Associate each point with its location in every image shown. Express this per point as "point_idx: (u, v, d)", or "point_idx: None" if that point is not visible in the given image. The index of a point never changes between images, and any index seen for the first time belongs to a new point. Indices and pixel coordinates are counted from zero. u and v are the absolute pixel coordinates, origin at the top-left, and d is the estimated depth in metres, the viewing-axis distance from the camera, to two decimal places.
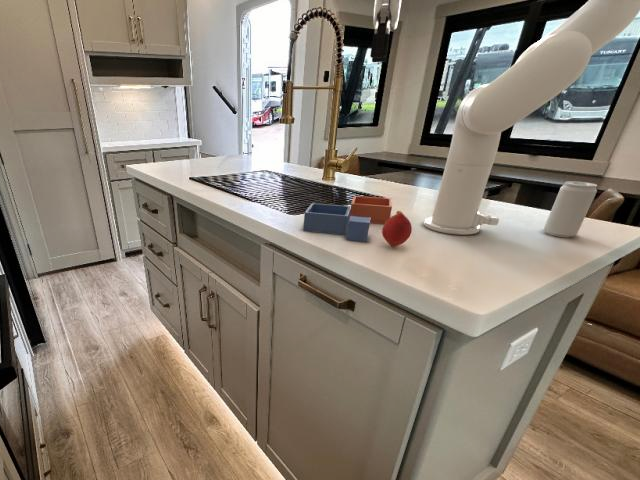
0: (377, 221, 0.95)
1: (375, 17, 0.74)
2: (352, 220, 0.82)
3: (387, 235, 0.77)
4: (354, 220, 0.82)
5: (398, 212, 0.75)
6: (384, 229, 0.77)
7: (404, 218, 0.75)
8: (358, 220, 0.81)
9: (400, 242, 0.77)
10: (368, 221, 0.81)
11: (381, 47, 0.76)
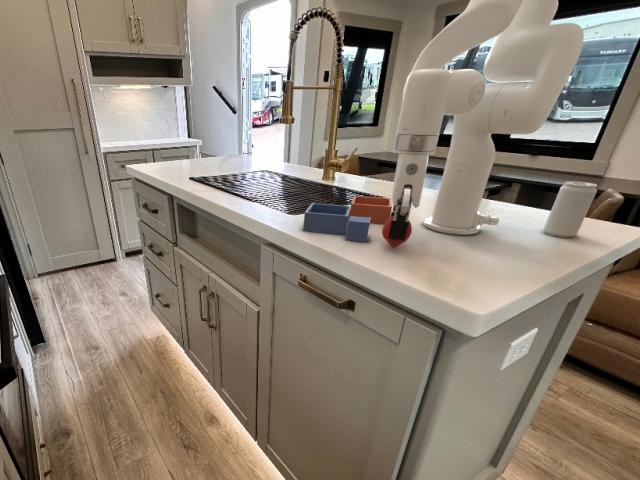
0: (377, 221, 0.95)
1: (395, 202, 0.71)
2: (352, 220, 0.82)
3: (387, 235, 0.77)
4: (354, 220, 0.82)
5: None
6: (384, 229, 0.77)
7: None
8: (358, 220, 0.81)
9: (400, 242, 0.77)
10: (368, 221, 0.81)
11: (400, 233, 0.73)
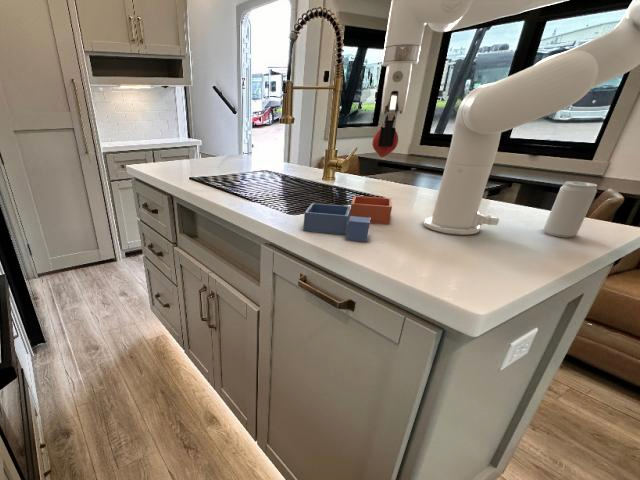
0: (377, 221, 0.95)
1: (384, 109, 0.81)
2: (352, 220, 0.82)
3: (376, 144, 0.87)
4: (354, 220, 0.82)
5: None
6: (374, 139, 0.88)
7: None
8: (358, 220, 0.81)
9: (388, 150, 0.87)
10: (368, 221, 0.81)
11: (388, 139, 0.84)
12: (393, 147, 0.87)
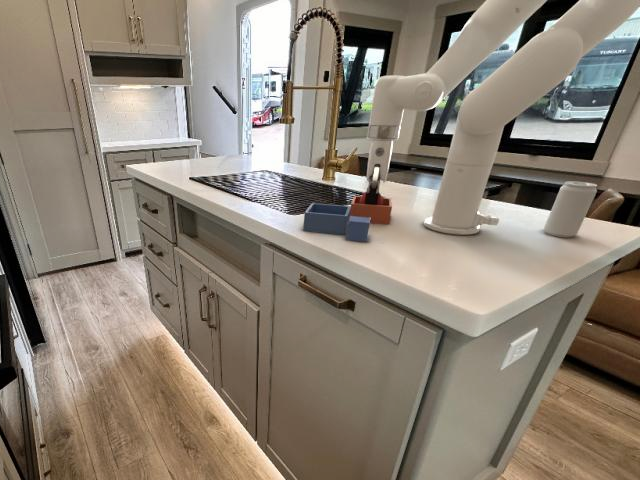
0: (377, 221, 0.95)
1: (368, 178, 0.91)
2: (352, 220, 0.82)
3: None
4: (354, 220, 0.82)
5: None
6: (361, 201, 0.98)
7: None
8: (358, 220, 0.81)
9: None
10: (368, 221, 0.81)
11: (372, 203, 0.94)
12: None
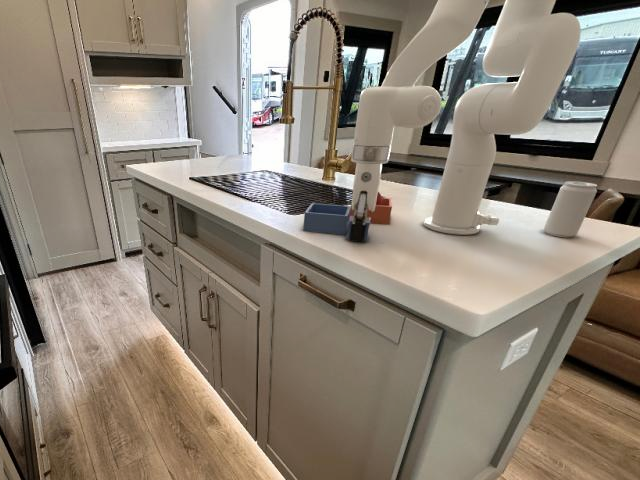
0: (377, 221, 0.95)
1: (353, 207, 0.77)
2: (352, 220, 0.82)
3: None
4: None
5: None
6: None
7: None
8: None
9: None
10: (368, 221, 0.81)
11: (359, 235, 0.81)
12: None
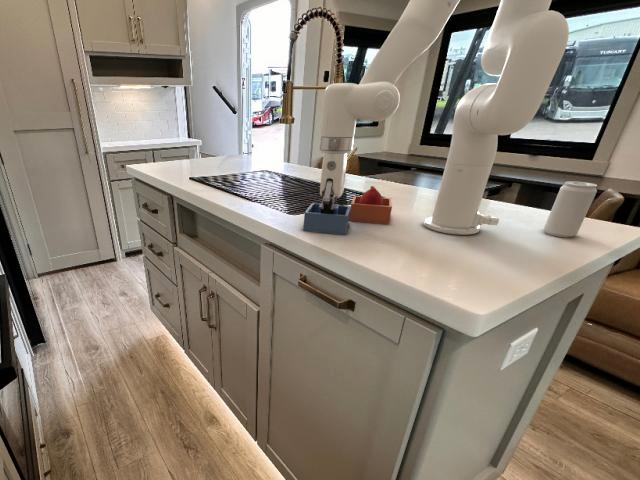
0: (377, 221, 0.95)
1: (321, 193, 0.84)
2: (321, 206, 0.89)
3: None
4: None
5: (371, 187, 0.96)
6: (361, 201, 0.98)
7: (376, 191, 0.96)
8: None
9: None
10: (336, 207, 0.88)
11: None
12: None
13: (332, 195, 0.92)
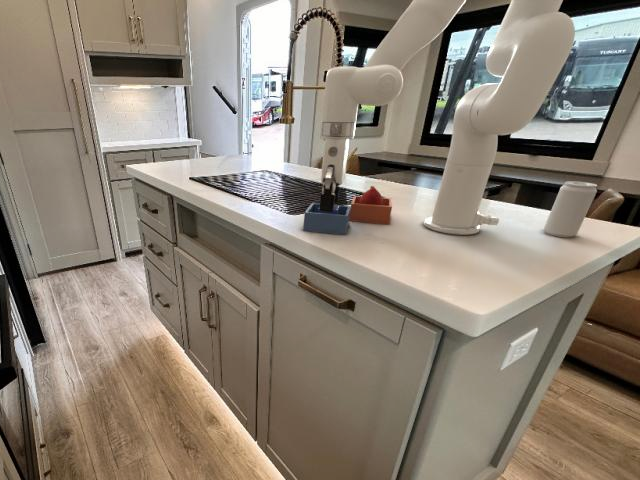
0: (377, 221, 0.95)
1: (322, 180, 0.83)
2: None
3: None
4: None
5: (371, 187, 0.96)
6: (361, 201, 0.98)
7: (376, 191, 0.96)
8: None
9: None
10: (336, 209, 0.88)
11: (328, 205, 0.84)
12: None
13: None
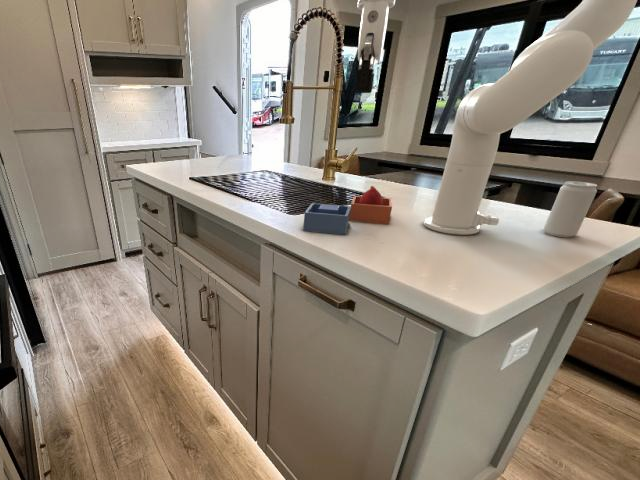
0: (377, 221, 0.95)
1: (359, 53, 0.77)
2: (321, 208, 0.89)
3: None
4: (323, 208, 0.89)
5: (371, 187, 0.96)
6: (361, 201, 0.98)
7: (376, 191, 0.96)
8: (327, 208, 0.89)
9: None
10: (336, 209, 0.88)
11: (365, 82, 0.78)
12: None
13: None
